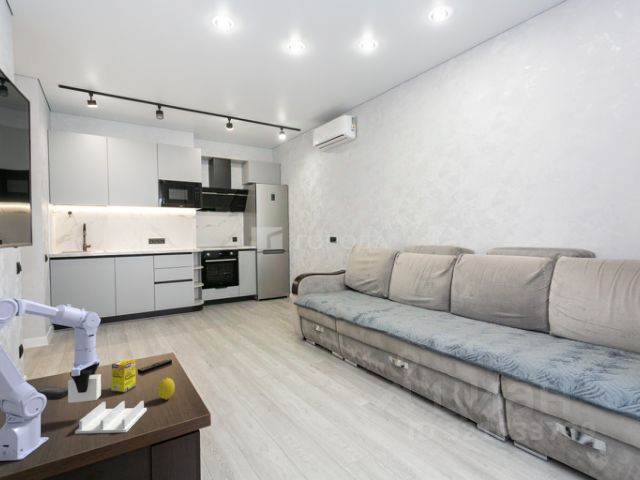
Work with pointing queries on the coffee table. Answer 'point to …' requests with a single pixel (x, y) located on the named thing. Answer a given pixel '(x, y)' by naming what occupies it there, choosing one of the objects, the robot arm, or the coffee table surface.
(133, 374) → the supplement box
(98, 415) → the dish rack
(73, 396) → the cream rectangular prism
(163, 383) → the lemon
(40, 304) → the robot arm
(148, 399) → the coffee table surface
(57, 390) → the multiport hub
